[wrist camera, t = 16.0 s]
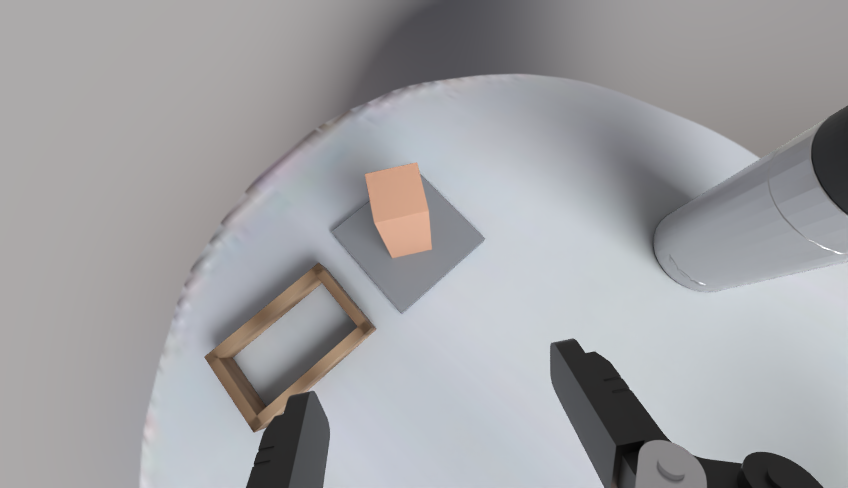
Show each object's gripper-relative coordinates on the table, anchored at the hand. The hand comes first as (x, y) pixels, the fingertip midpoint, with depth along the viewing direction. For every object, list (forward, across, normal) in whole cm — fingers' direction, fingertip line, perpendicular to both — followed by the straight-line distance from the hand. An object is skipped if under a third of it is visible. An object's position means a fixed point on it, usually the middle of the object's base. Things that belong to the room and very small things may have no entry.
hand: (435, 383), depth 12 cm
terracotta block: (+27, +1, +8) cm, 28 cm away
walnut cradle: (+21, +14, +14) cm, 29 cm away
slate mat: (+28, +1, +8) cm, 29 cm away
